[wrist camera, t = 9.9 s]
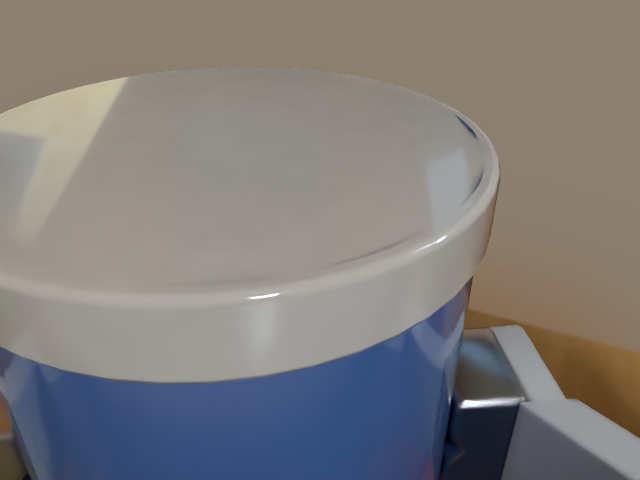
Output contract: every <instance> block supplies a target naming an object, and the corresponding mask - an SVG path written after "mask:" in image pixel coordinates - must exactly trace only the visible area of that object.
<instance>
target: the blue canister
mask: <svg viewBox="0 0 640 480" xmlns="http://www.w3.org/2000/svg"><path fill="white" fill-rule="evenodd" d="M499 184H500V165H499V160H498V157H497V154H496V152H495V149H494V147H493V144H492V142H491V141H490V140H489V138H488V137H487V136H486V134H485V133H484V132H483V130H482V129H480V128H479V127H478V126H477V125H476V124H475V123H474V122H473V121H472V120H471V119H469V118H467V117H466V116H464V115H463V114H462V113H460V112H459V111H457V110H456V109H454V108H452V107H450V106H448V105H446V104H444V103H442V102H440V101H438V100H436V99H433V98H431V97H428V96H426V95H423V94H421V93H418V92H415V91H412V90H409V89H406V88H403V87H399V86H397V85H393V84H389V83H385V82H381V81H377V80H373V79H368V78H363V77H358V76H352V75H346V74H340V73H333V72H325V71H315V70H306V69H292V68H270V67H225V68H204V69H190V70H178V71H169V72H160V73H152V74H145V75H139V76H131V77H126V78H120V79H115V80H110V81H104V82H100V83H95V84H91V85H87V86H82V87H78V88H75V89H71V90H67V91H63V92H60V93H57V94H53V95H50V96H47V97H44V98H41V99H38V100H35V101H32V102H29V103H27V104H24V105H22V106H19V107H16V108H14V109H11V110H9V111H6V112H4V113H2V114H0V404H1V406H2V409H3V411H4V414H5V416H6V419H7V421H8V424H9V426H10V429H11V431H12V434H13V436H14V439H15V442H16V444H17V447H18V449H19V452H20V454H21V457H22V459H23V462H24V464H25V467H26V469H27V472H28V474H29V477H30V479H31V480H439V476H440V470H441V464H442V458H443V452H444V446H445V440H446V434H447V428H448V422H449V416H450V410H451V405H452V399H453V393H454V387H455V381H456V375H457V369H458V363H459V357H460V351H461V345H462V339H463V333H464V327H465V321H466V315H467V309H468V303H469V297H470V291H471V285H472V279H473V275H474V273H475V272H476V270H477V268H478V266H479V264H480V263H481V261H482V259H483V257H484V255H485V253H486V250H487V246H488V242H489V238H490V234H491V228H492V223H493V217H494V212H495V205H496V200H497V194H498V189H499Z"/></svg>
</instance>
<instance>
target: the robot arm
mask: <svg viewBox="0 0 640 480" xmlns="http://www.w3.org/2000/svg"><path fill="white" fill-rule="evenodd" d="M0 480H31V479H30V477H29V474H28V472H27V469H26V467H25V464H24V462H23V459H22V457H21V454H20V452H19V449H18V447H17V444H16V442H15V439H14V436H13V434H12V431H11V429H10V426H9V424H8V421H7V419H6V416H5V414H4V411H3V409H2V406H1V404H0ZM439 480H640V438H638V437H637V436H635V435H634V434H632V433H630V432H629V431H627V430H626V429H624V428H622V427H621V426H619V425H618V424H616V423H614V422H613V421H611V420H610V419H608V418H606V417H605V416H603V415H602V414H600V413H598V412H597V411H595V410H594V409H592V408H590V407H589V406H587V405H585V404H584V403H582V402H581V401H579V400H577V399H566V397H565V396H564V394H563V393H562V391H561V389H560V388H559V386H558V384H557V383H556V381H555V380H554V378H553V376H552V375H551V373H550V371H549V370H548V368H547V366H546V365H545V363H544V362H543V360H542V358H541V357H540V355H539V353H538V352H537V350H536V348H535V347H534V345H533V344H532V342H531V340H530V339H529V337H528V335H527V334H526V332H525V331H524V329H523V328H522V327H520V326H519V325H505V326H493V327H487V328H473V329H464V333H463V339H462V345H461V351H460V357H459V363H458V369H457V375H456V381H455V387H454V393H453V399H452V405H451V410H450V416H449V422H448V428H447V434H446V440H445V446H444V452H443V458H442V464H441V470H440V476H439Z"/></svg>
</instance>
